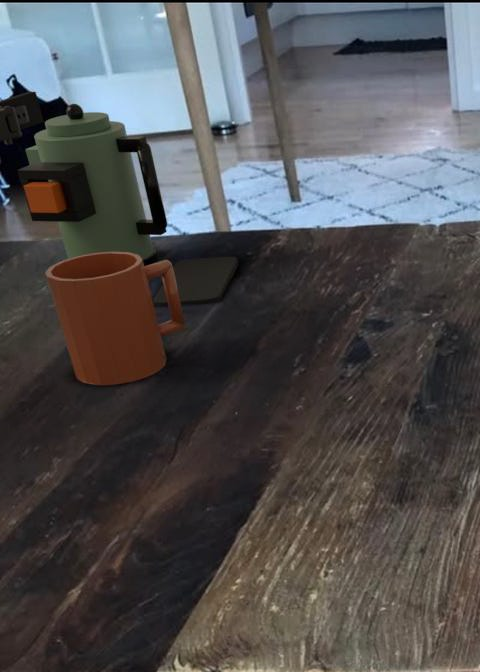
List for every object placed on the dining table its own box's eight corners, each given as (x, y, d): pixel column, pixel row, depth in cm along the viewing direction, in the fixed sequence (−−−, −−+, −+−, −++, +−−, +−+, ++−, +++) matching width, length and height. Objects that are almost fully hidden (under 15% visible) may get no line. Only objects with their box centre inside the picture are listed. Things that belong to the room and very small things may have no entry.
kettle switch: (31, 212, 123) (23, 185, 122) (40, 208, 125) (33, 181, 123) (58, 213, 122) (51, 186, 121) (68, 208, 124) (60, 181, 122)
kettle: (20, 285, 131) (-30, 120, 120) (87, 250, 141) (45, 95, 131) (138, 289, 127) (96, 119, 116) (197, 253, 137) (164, 93, 126)
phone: (149, 303, 120) (176, 260, 132) (151, 311, 120) (178, 267, 132) (218, 298, 119) (239, 255, 131) (220, 306, 120) (240, 262, 132)
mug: (108, 397, 101) (77, 286, 95) (60, 377, 106) (28, 270, 100) (215, 355, 108) (192, 249, 102) (165, 338, 113) (141, 236, 107)
